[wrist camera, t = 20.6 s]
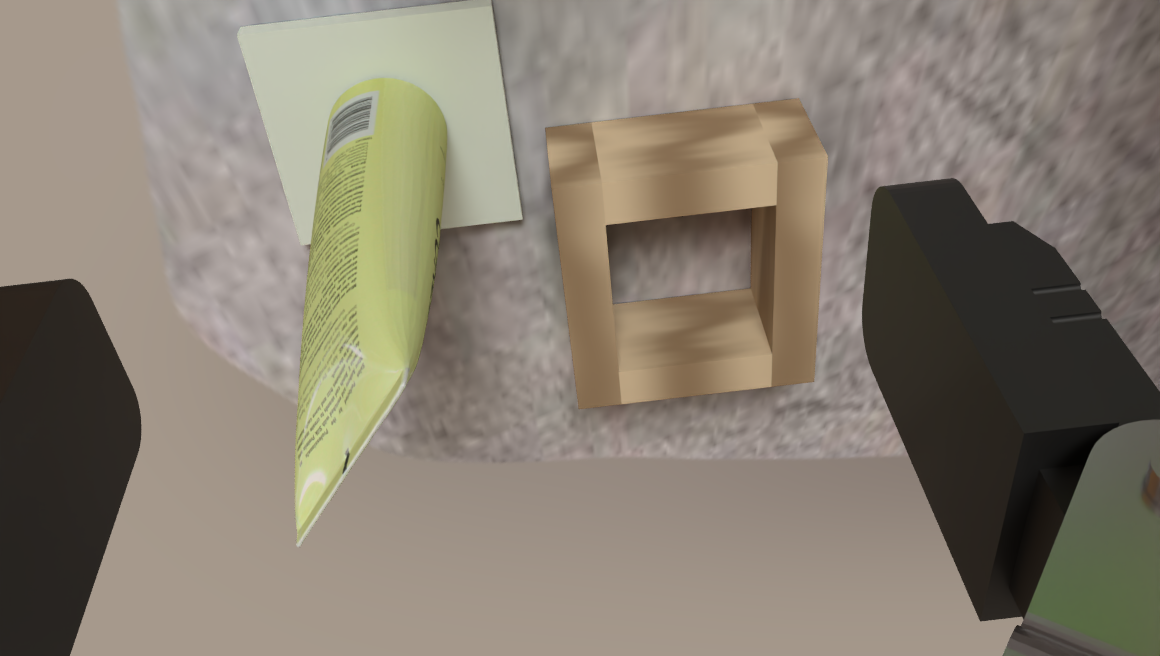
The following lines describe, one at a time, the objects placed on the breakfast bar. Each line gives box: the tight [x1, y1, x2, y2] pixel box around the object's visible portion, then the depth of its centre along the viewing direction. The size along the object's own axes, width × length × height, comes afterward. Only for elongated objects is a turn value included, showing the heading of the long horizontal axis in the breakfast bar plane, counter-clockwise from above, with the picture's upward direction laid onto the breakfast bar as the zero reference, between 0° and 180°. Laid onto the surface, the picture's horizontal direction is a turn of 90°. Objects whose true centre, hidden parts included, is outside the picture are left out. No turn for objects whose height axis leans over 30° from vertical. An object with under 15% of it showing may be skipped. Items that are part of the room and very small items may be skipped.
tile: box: [237, 0, 523, 245], centre depth 46 cm, size 10×10×1 cm
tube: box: [295, 78, 447, 547], centre depth 38 cm, size 6×5×20 cm
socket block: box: [545, 98, 828, 409], centre depth 49 cm, size 11×12×5 cm
